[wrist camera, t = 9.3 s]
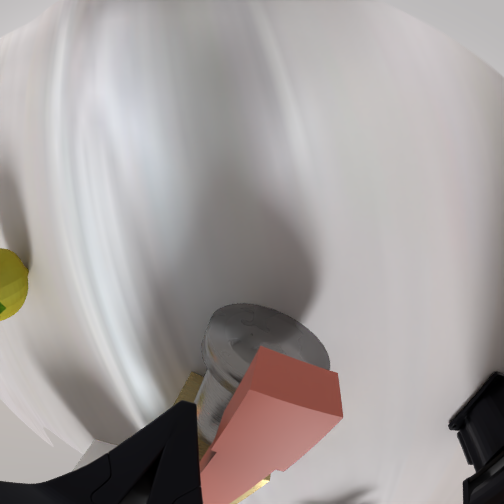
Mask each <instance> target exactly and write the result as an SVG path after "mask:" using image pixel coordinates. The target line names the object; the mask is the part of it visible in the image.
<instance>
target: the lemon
mask: <svg viewBox="0 0 504 504" xmlns="http://www.w3.org/2000/svg"><path fill="white" fill-rule="evenodd" d="M28 273H29V270H28V269H27V268H26V267H25V266H24V265H23V263H22V261H21V260H20V259H19V257H18V256H17V255H16V254H15V253H14V252H12V251H10V250H8V249H2V248H0V321H2V320H5V319H7V318H9V317H11V316H12V315H14V314H15V313H16V312H18V311H19V309H20V308H21V307H22V305H23V303H24V301H25V299H26V296H27V293H28V277H27V276H28Z"/></svg>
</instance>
